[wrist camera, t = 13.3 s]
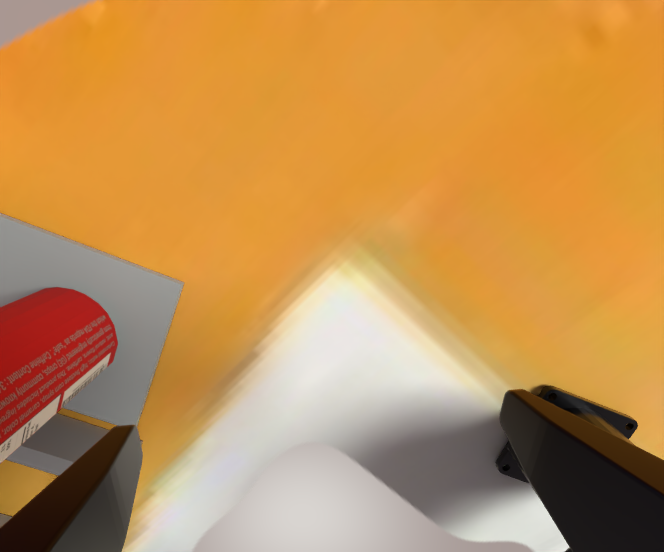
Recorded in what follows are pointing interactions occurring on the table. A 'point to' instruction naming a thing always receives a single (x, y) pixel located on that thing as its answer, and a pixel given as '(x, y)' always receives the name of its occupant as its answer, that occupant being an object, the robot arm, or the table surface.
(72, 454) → the collar
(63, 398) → the soda can
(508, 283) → the table surface
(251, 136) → the table surface
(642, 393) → the table surface
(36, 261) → the mat
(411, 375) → the table surface
